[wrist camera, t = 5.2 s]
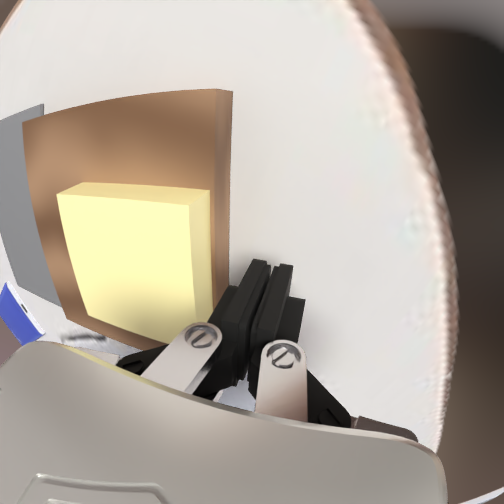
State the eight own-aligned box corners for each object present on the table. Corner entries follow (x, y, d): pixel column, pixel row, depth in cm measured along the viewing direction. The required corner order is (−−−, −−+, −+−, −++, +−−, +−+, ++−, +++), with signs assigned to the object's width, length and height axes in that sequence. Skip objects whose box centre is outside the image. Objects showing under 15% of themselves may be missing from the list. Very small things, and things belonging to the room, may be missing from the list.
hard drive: (24, 348, 32) (41, 337, 27) (-6, 307, 30) (3, 284, 25) (29, 342, 34) (48, 329, 28) (0, 302, 32) (11, 277, 26)
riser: (229, 353, 19) (219, 374, 17) (80, 305, 22) (66, 318, 20) (232, 91, 11) (216, 88, 10) (43, 117, 14) (22, 122, 12)
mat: (83, 314, 22) (81, 316, 22) (19, 284, 25) (17, 285, 24) (43, 103, 14) (40, 104, 13) (-15, 127, 16) (-17, 128, 16)
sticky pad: (213, 327, 15) (200, 353, 14) (106, 297, 17) (88, 315, 15) (209, 190, 12) (188, 205, 10) (82, 182, 13) (56, 194, 11)
